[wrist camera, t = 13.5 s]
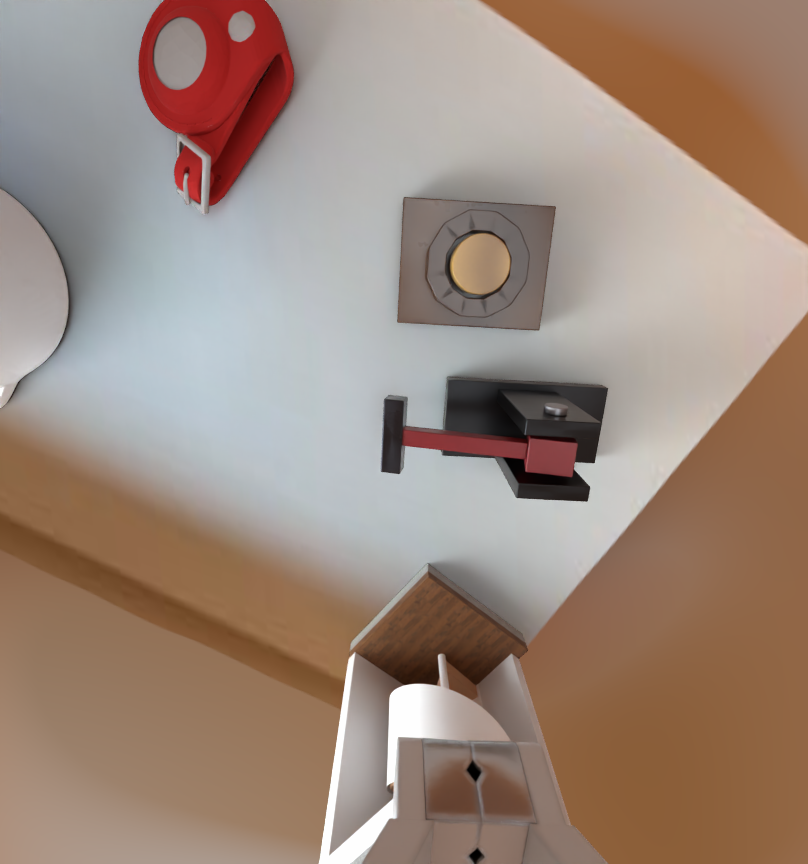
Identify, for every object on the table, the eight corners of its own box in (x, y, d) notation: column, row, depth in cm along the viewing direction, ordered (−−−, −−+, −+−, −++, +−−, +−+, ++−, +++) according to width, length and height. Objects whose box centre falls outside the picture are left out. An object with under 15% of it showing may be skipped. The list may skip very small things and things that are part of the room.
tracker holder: (101, 19, 30) (232, -78, 26) (158, 62, 34) (276, -18, 31) (162, 214, 30) (297, 143, 27) (211, 232, 34) (332, 172, 31)
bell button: (447, 292, 32) (449, 293, 30) (452, 233, 31) (454, 231, 29) (501, 295, 32) (507, 296, 30) (508, 237, 31) (514, 234, 29)
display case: (522, 634, 44) (906, 1745, 10) (445, 705, 46) (557, 1803, 13) (427, 563, 42) (527, 1675, 8) (351, 642, 44) (190, 1758, 11)
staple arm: (386, 462, 34) (378, 474, 32) (390, 393, 33) (381, 400, 30) (564, 484, 32) (568, 498, 30) (576, 411, 31) (581, 420, 28)
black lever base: (440, 450, 39) (453, 502, 30) (447, 376, 37) (462, 407, 28) (589, 458, 39) (647, 512, 30) (602, 385, 37) (668, 418, 28)
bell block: (397, 320, 36) (397, 324, 32) (403, 202, 34) (403, 191, 30) (531, 327, 36) (546, 332, 32) (546, 211, 34) (565, 201, 30)
